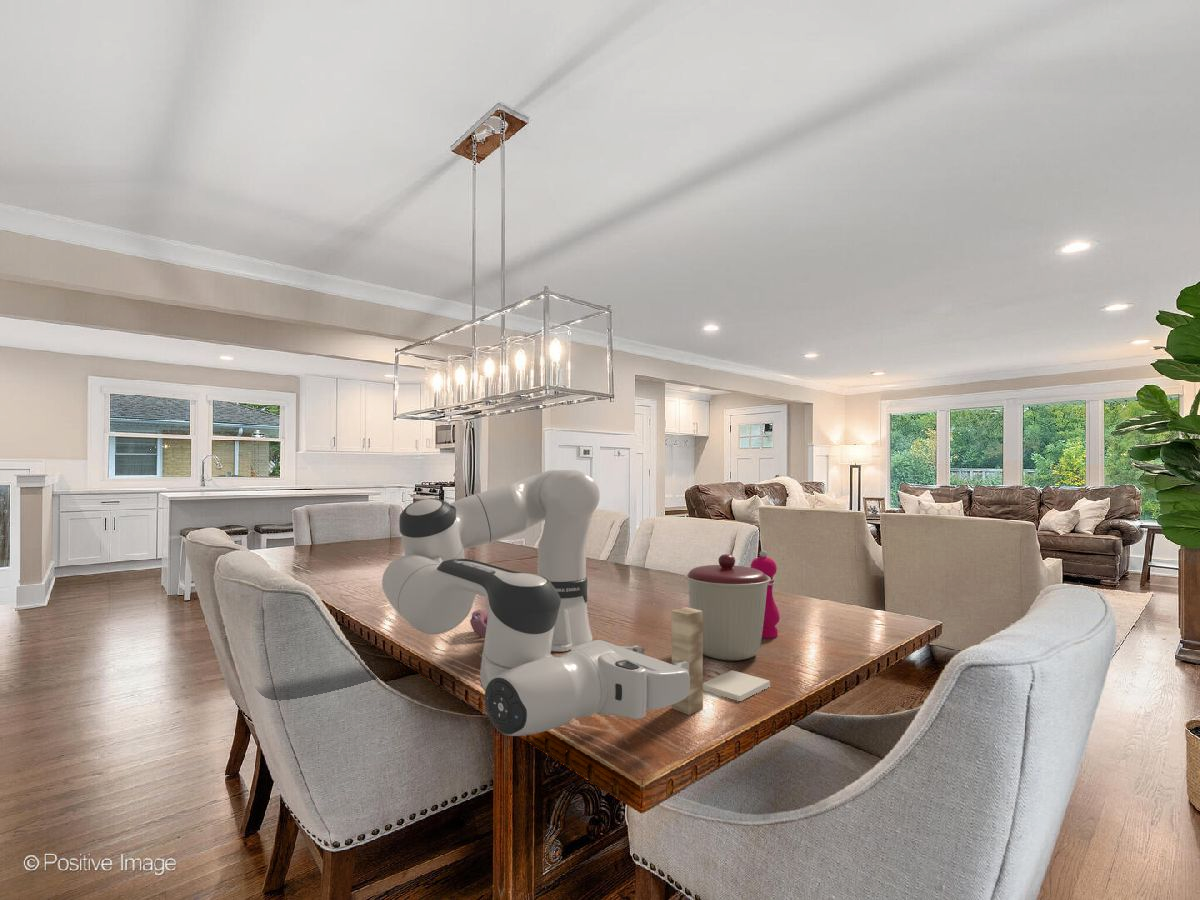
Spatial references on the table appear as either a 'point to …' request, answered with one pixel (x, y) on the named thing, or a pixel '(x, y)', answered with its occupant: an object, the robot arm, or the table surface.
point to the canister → (729, 607)
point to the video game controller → (479, 622)
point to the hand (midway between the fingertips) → (662, 658)
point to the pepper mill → (768, 595)
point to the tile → (736, 685)
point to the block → (689, 654)
